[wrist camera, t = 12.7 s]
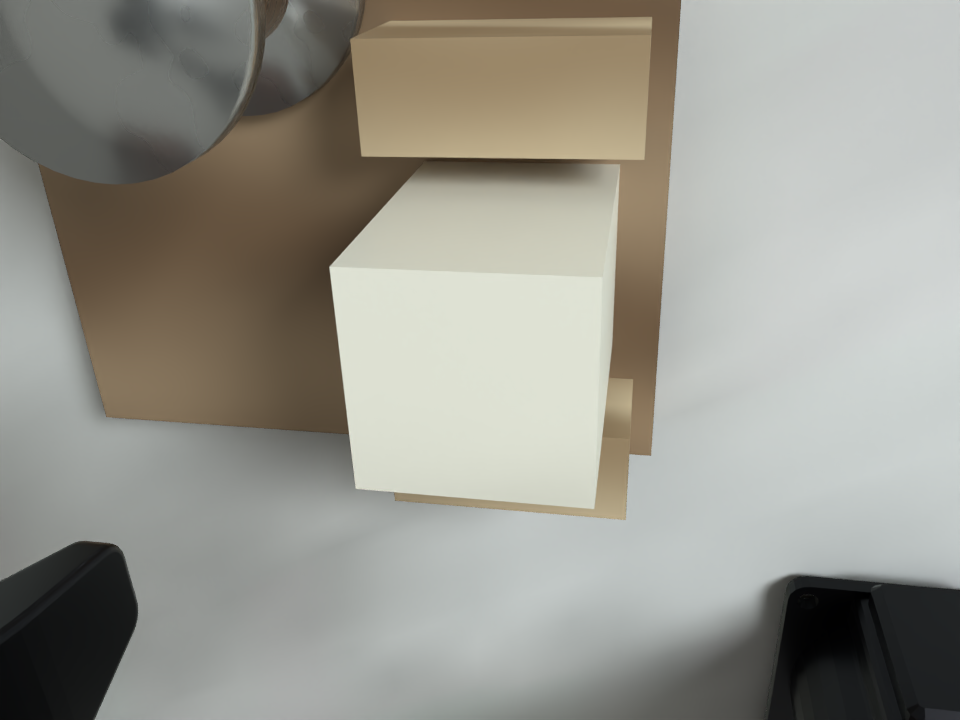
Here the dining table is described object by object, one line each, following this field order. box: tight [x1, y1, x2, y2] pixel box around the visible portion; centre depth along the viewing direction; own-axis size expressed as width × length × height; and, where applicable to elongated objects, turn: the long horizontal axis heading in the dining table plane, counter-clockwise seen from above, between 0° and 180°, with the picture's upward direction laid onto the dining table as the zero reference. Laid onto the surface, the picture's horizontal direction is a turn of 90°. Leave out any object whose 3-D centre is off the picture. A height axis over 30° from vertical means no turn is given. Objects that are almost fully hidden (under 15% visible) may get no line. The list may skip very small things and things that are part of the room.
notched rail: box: [350, 17, 652, 520], centre depth 18 cm, size 10×5×2 cm, turn 2°
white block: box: [329, 161, 620, 509], centre depth 16 cm, size 4×4×6 cm
